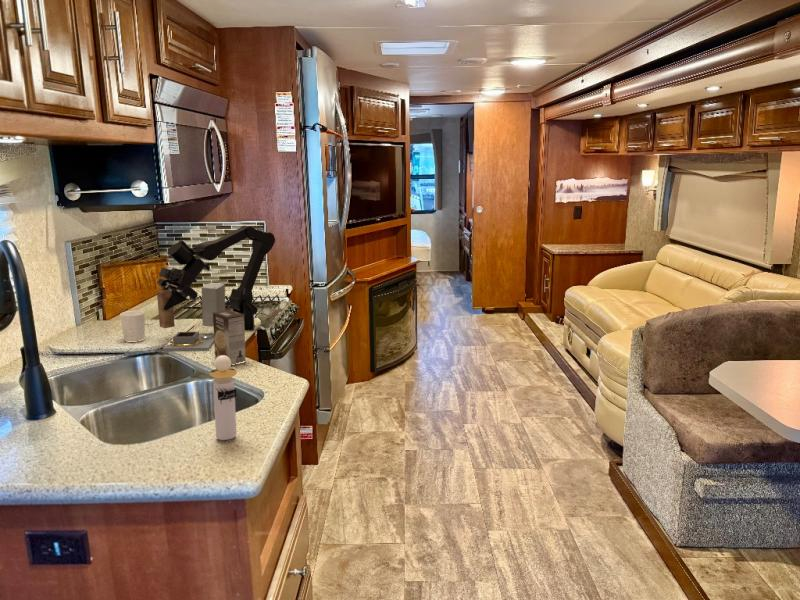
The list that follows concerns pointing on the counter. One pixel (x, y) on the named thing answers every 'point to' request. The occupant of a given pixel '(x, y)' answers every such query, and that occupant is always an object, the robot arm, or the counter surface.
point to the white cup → (133, 325)
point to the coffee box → (229, 335)
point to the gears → (189, 339)
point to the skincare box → (212, 301)
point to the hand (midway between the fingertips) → (162, 308)
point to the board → (200, 347)
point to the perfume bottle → (224, 398)
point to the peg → (165, 315)
